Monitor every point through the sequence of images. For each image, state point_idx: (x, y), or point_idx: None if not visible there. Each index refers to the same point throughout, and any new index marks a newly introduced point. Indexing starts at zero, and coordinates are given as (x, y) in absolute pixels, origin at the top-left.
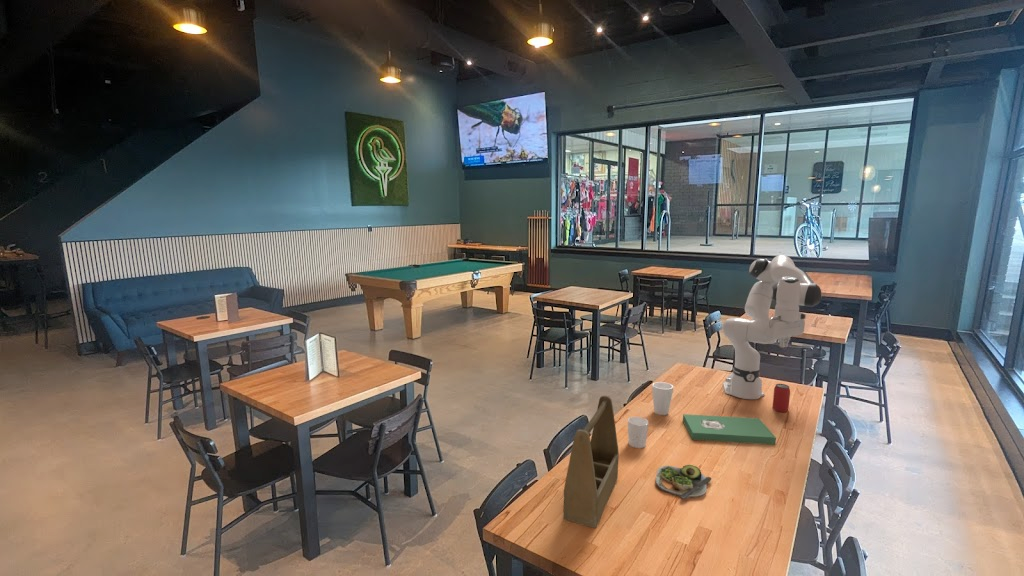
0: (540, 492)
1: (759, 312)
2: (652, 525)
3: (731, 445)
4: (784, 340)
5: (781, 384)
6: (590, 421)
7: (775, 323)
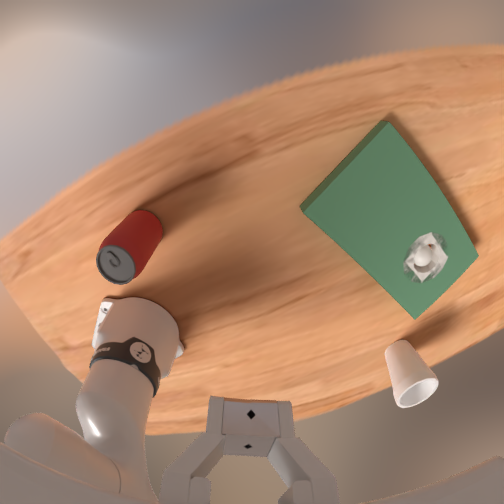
0: None
1: None
2: None
3: (451, 188)
4: (211, 467)
5: (105, 275)
6: None
7: None
